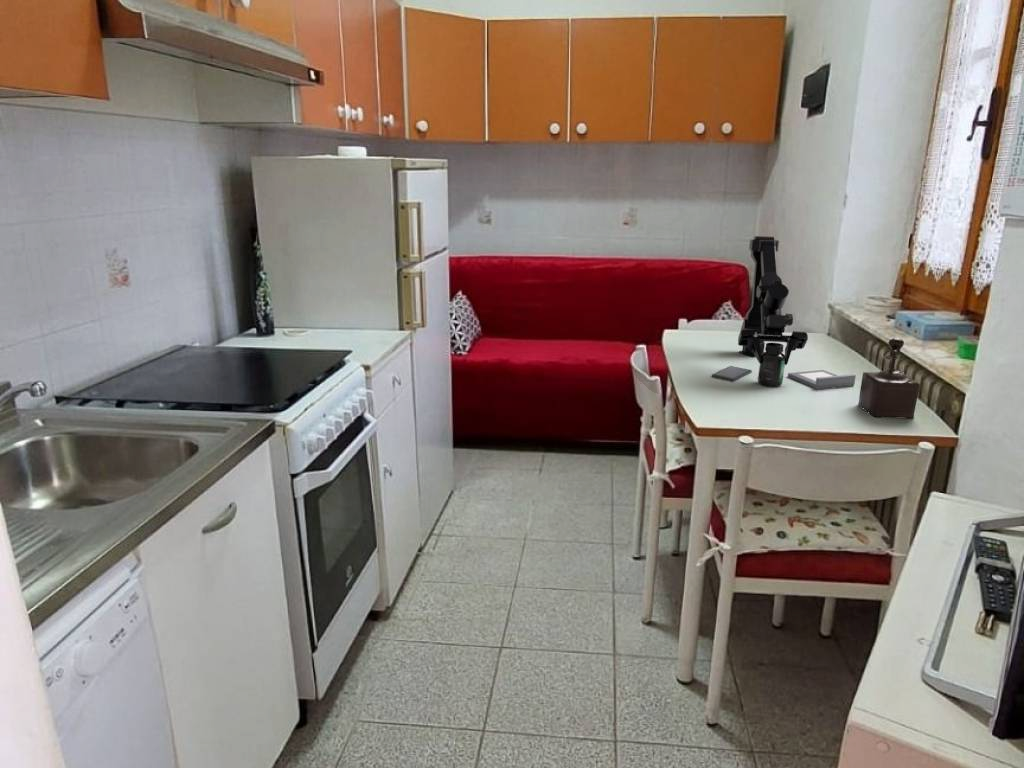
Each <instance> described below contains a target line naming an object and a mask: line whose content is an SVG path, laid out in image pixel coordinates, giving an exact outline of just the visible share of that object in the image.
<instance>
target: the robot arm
mask: <svg viewBox="0 0 1024 768" xmlns="http://www.w3.org/2000/svg"><path fill="white" fill-rule="evenodd" d="M779 242H780V240H776V239H775V236H761V235H759V236H758V235H755V236H754V237H753V239H750V240H749V246H748V247H749V248H748V249H749V251H750V258H751V259H752V261H753V263H754V270H753V271H754V272H753V283H752V296H751V307H750V308H749V310H748V311H747V312H746V314H745V318H744V319H743V320H742V325H741V326H740V331H739V335H738V339H737V345H738V346H742V349H741V350H738V353H740V354H743V355H745V356H748V357H752V358H753V357H755V358H756V360H757V362H758V363H759V364H760V363H761V362H762V356H761V355H762V353H764V352H765V347H766V343H765V342H767V343H786V346H785V347H784V355H785V357H786V360H785V366H787V365H788V364H789V363H788V362H789V360H790V356H791V354H792V351H796V350H798V349H799V350H803V349H804V348H805V346H806V344H807V341H808V339H809V336H808V333H807V332H806V331H798V330H796V331H795V330H793V331H792V332H791V334H790V335H783V333H785V331H786V330H785V329H786V327H787V326H792V325H793V323H794V317H793V316H794V314H793V313H785V314H782V309H783V307H784V306H785V304H786V301H787V298H788V295H789V291H790V290H789V288H788V287H787V286H786V285H785V284H783V279H782V278H781V277H780V276H779V275H778V269H777V253H776V252H779V244H780V243H779Z"/></svg>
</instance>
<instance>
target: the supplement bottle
mask: <svg viewBox="0 0 1024 768" xmlns="http://www.w3.org/2000/svg"><path fill="white" fill-rule="evenodd" d="M784 348H785V347H784V344H782V343H781V342H767V343H765V347H764V353H762V355H761V356H762V362H761V363H759V366H758V367H759V368H758V377H757V383H758V384H759V385H760V386H762V387H763V386H764V387H768V388H779V387H781V386H782V385H783V381H784V373H785V366H786V365H785V360H786V357H785V353H783V352H784Z"/></svg>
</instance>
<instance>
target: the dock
mask: <svg viewBox="0 0 1024 768" xmlns="http://www.w3.org/2000/svg"><path fill="white" fill-rule="evenodd" d="M787 373H788V374H787V377H788V378H790V379H792V380H794V381H796V382H799V383H802V384H804V385H807V386H808V385H809V387H811V388H812V389H813V388H814V389H816V390H826V389H825V388H828V389H833V388H832V387H838V388H842V387H841V386H847V387H851V386H850V385H854V386H855V381H856V377H857V375H856V374H852V373H851V374H843V375H842V374H841V375H837V374H836V373H832V372H829V371H827V370H824V369H820V370H818V369H817V370H808V371H797V372H787Z"/></svg>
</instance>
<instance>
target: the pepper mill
mask: <svg viewBox="0 0 1024 768" xmlns="http://www.w3.org/2000/svg"><path fill="white" fill-rule="evenodd" d="M904 344H905V341H904V340H903V339H902V338H899V337H898V338H897V337H893V338H891V339H889V340H888V346H889V347H890V352H889V354H888V355H883V356H882V359H884V360H889V361H891V362H890V363H891V364H890V367H889V369H888V368H887V369H883V370H880V371H879V372H877V371H876V372H873V371H872V372H871V371H869V372H867V371H866V372H865V371H864V372H863V373H862V376H861V377H862V379H861V382H860V383H861V384H860V390H859V396H858V397H859V398H858V406H859V405H860V406H861V407H862V408H864V409H865V410H866V411H867V412H869V413H870V414H871V416H872V415H873V416H876V417H875V418H882V417H906V418H905V419H914V418H915V411H916V406H917V400H918V397H919V392H920V391H919V390H920V383H918V382H917V381H915V380H914V379H913V377H911V376H910V375H908V374H906V373H907V370H906V369H905V370H903V371H900V370H898V369H896V368H895V367H896V361H897V360H898V356H901V349H902V348H903V347H904V346H905V345H904ZM860 406H859V407H860ZM861 407H860V408H861ZM862 408H861V409H862ZM864 409H863V410H864ZM865 410H864V411H865ZM866 411H865V412H866ZM867 412H866V413H867ZM869 413H868V414H869ZM870 414H869V415H870ZM873 416H872V417H873Z"/></svg>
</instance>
